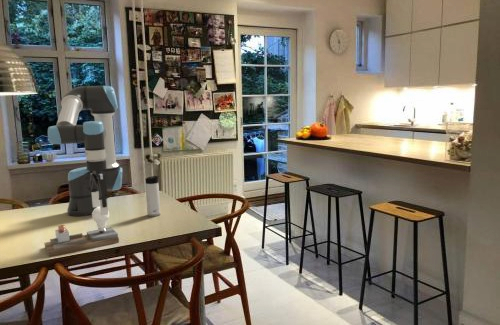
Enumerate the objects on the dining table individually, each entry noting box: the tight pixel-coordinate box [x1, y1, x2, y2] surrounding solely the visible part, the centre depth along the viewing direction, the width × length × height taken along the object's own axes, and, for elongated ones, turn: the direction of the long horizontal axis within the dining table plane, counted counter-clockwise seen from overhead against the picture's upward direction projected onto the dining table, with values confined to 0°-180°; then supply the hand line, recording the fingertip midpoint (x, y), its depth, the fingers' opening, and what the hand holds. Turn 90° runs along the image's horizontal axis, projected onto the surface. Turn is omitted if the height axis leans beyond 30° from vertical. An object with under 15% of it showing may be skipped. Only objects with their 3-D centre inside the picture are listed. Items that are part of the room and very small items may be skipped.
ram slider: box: [54, 224, 70, 244], centre depth 161 cm, size 6×4×7 cm, turn 34°
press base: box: [44, 227, 120, 258], centre depth 166 cm, size 12×26×4 cm, turn 124°
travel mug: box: [145, 175, 161, 218], centre depth 205 cm, size 6×7×20 cm
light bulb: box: [91, 206, 110, 232], centre depth 170 cm, size 7×7×11 cm
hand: (100, 210), depth 169 cm, fingers open, 13 cm apart
